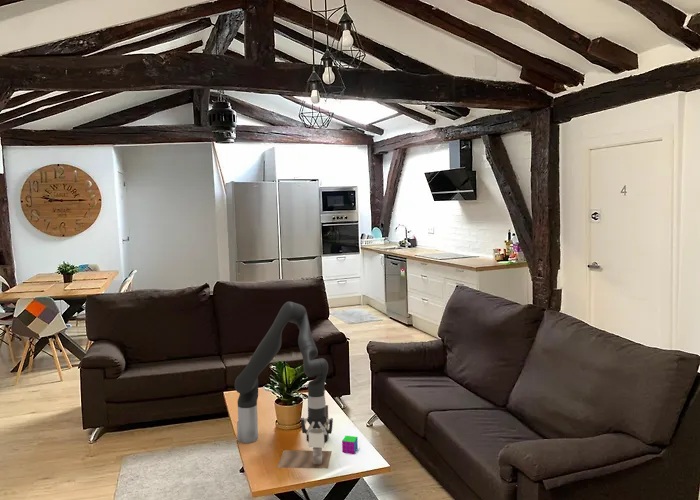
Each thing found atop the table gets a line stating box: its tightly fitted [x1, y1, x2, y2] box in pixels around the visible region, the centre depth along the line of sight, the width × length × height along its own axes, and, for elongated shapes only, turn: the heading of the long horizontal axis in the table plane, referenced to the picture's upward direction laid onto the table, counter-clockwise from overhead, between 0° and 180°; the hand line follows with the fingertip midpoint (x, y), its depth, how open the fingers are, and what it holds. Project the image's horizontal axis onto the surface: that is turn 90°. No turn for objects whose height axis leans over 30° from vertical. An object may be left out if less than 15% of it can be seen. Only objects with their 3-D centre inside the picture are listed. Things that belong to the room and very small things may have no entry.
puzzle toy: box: [341, 435, 359, 455], centre depth 252 cm, size 6×6×6 cm
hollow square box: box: [308, 428, 326, 449], centre depth 238 cm, size 6×6×6 cm
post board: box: [276, 447, 333, 469], centre depth 242 cm, size 22×16×8 cm
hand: (317, 442), depth 238 cm, fingers closed on hollow square box, 6 cm apart
